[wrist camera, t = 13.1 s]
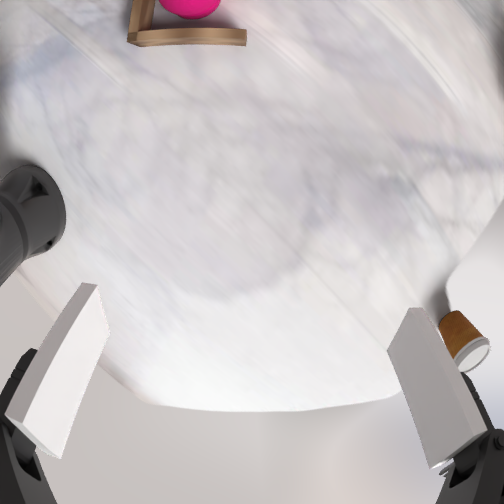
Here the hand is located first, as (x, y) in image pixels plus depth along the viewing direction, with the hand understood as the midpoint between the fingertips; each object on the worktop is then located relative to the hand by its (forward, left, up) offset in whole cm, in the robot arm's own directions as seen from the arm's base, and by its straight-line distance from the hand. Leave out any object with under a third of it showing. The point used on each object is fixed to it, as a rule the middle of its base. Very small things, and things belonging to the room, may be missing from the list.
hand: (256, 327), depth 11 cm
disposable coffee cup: (+46, -26, -29) cm, 60 cm away
